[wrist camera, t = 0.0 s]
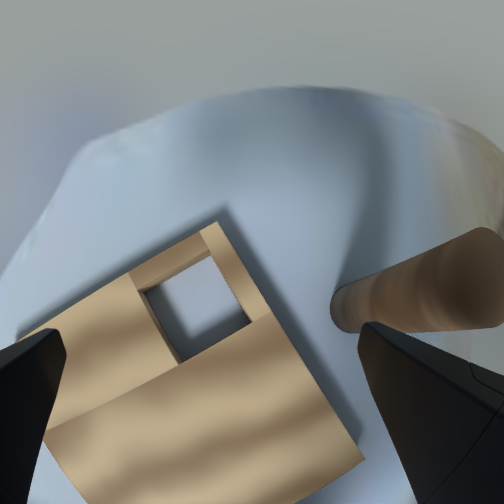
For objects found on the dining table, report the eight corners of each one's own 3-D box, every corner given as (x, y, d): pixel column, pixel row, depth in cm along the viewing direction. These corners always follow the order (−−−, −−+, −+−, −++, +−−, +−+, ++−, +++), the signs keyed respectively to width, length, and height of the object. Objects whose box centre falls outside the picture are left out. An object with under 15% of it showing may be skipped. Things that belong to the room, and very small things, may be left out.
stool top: (355, 451, 21) (365, 459, 19) (144, 547, 17) (140, 558, 15) (217, 229, 24) (217, 221, 23) (13, 352, 20) (0, 352, 18)
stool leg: (382, 315, 24) (525, 289, 9) (346, 342, 23) (484, 348, 9) (358, 274, 25) (489, 211, 10) (320, 301, 24) (441, 259, 9)
